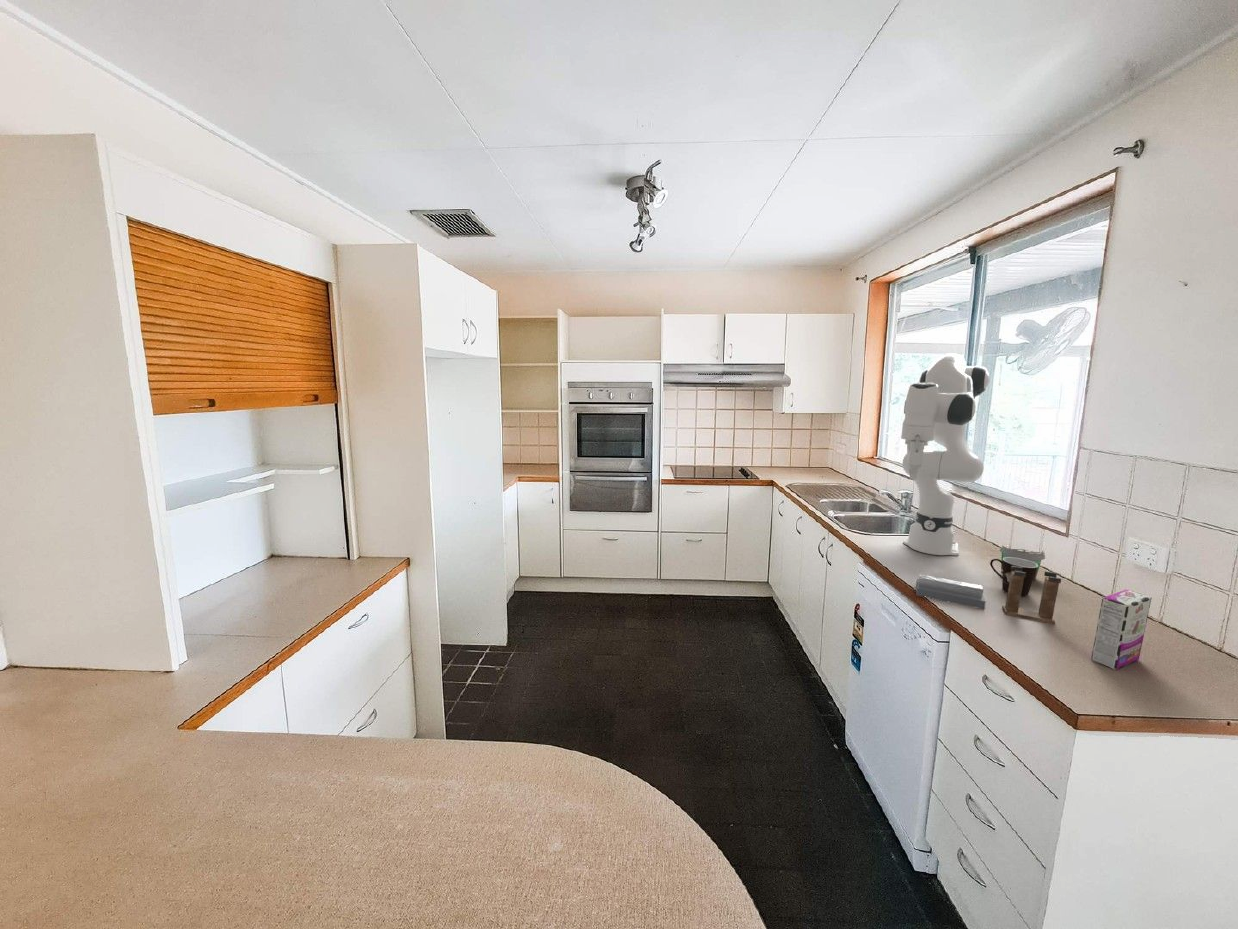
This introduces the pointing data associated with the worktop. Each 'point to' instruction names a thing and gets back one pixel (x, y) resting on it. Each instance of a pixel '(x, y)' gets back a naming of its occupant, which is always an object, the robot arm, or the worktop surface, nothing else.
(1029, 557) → the food container
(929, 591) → the board
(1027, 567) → the coffee mug
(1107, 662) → the candy bar box
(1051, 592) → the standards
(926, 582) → the rail
